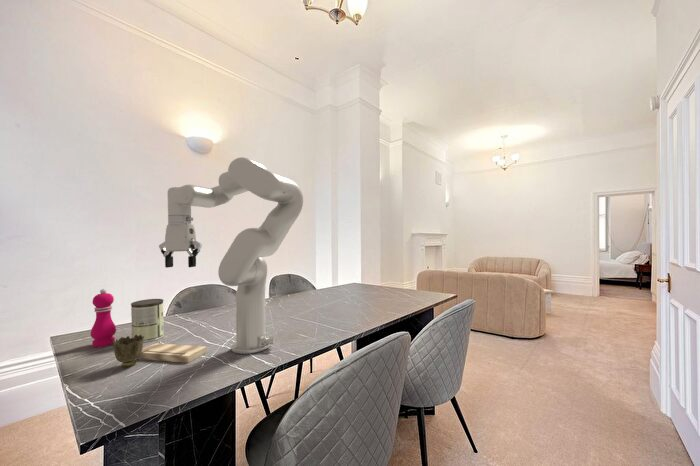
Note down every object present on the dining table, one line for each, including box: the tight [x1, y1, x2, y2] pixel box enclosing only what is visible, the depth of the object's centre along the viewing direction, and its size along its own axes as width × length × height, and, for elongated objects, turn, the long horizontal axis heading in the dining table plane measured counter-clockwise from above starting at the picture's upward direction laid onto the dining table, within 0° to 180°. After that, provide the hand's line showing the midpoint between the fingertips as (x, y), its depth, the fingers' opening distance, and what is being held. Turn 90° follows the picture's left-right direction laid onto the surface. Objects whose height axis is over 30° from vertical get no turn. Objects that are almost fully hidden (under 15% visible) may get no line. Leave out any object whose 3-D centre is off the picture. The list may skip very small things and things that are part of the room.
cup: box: [112, 335, 144, 368], centre depth 90 cm, size 8×7×8 cm
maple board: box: [136, 342, 208, 364], centre depth 97 cm, size 20×8×2 cm, turn 77°
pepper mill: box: [90, 288, 117, 348], centre depth 109 cm, size 7×7×20 cm
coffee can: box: [130, 298, 165, 344], centre depth 115 cm, size 10×10×14 cm
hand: (180, 267), depth 111 cm, fingers open, 9 cm apart
